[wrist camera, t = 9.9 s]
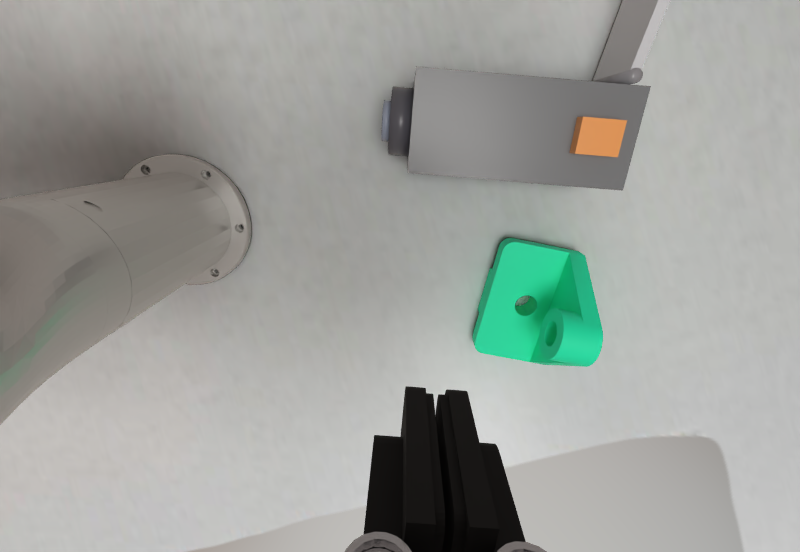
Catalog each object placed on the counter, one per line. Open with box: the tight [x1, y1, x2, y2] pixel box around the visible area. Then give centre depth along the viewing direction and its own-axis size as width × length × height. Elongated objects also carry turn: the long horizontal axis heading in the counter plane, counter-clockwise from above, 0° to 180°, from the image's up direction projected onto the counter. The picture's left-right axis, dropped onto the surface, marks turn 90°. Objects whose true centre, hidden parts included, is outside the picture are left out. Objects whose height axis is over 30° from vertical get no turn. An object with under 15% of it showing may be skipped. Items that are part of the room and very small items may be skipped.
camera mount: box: [472, 238, 603, 366], centre depth 36 cm, size 12×8×10 cm, turn 169°
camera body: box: [382, 66, 651, 190], centre depth 31 cm, size 18×7×9 cm, turn 86°
